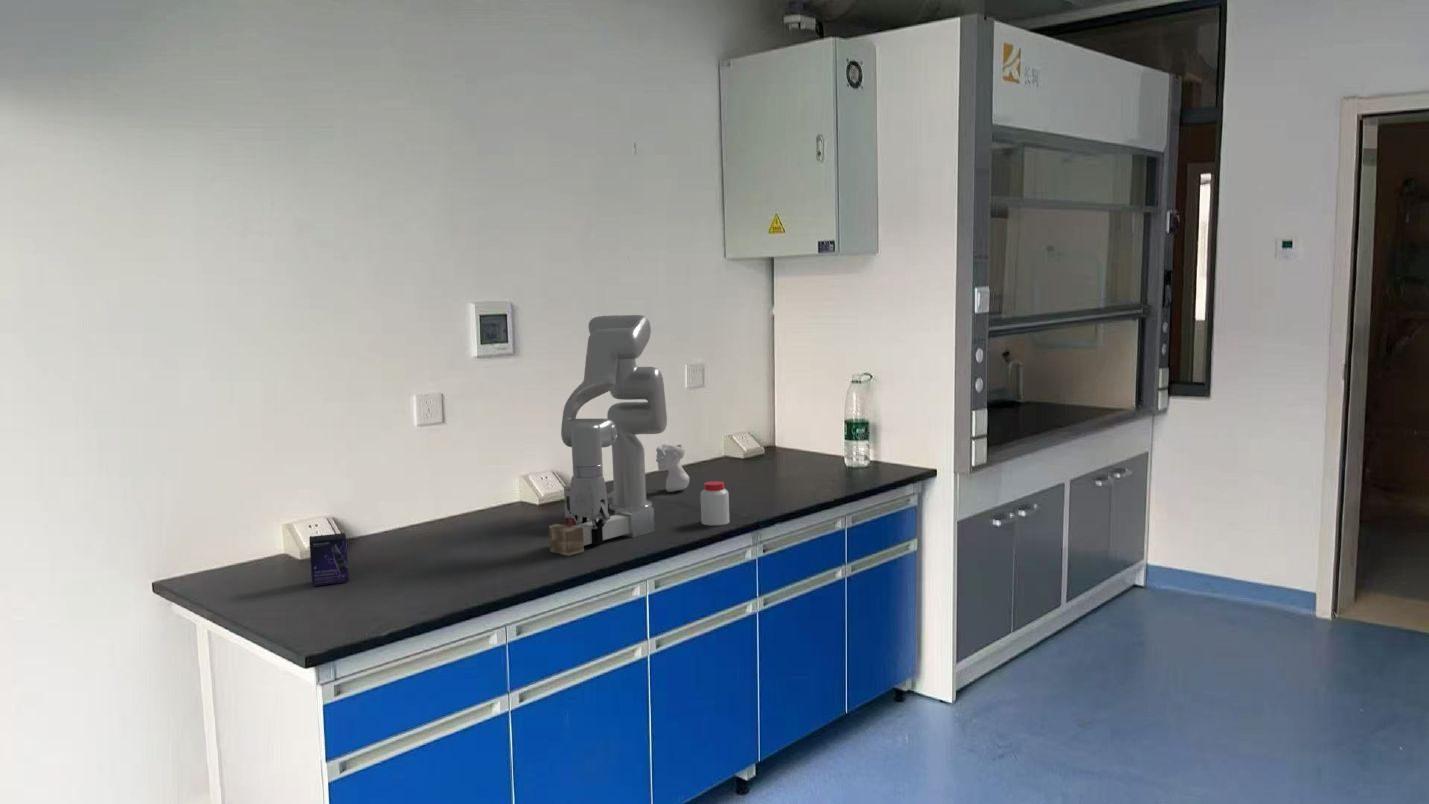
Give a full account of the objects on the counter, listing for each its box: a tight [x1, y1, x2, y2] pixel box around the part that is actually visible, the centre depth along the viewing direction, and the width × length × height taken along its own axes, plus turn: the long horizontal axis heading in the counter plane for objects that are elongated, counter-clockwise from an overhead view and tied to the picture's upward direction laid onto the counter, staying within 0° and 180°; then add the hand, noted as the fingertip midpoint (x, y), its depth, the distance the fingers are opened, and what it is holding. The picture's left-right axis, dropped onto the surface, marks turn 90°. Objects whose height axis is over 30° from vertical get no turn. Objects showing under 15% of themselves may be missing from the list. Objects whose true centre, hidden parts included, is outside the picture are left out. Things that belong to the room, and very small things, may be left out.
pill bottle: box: [699, 480, 730, 527], centre depth 277 cm, size 8×8×11 cm
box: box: [308, 532, 350, 588], centre depth 231 cm, size 8×6×11 cm
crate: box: [548, 523, 585, 557], centre depth 251 cm, size 7×5×7 cm
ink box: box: [563, 482, 598, 527], centre depth 278 cm, size 9×5×12 cm, turn 70°
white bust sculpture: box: [655, 443, 690, 493], centre depth 321 cm, size 10×11×15 cm
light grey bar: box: [571, 514, 631, 546], centre depth 259 cm, size 4×22×5 cm, turn 138°
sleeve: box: [614, 505, 656, 538], centre depth 269 cm, size 7×8×6 cm
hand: (591, 541), depth 258 cm, fingers closed on light grey bar, 4 cm apart
